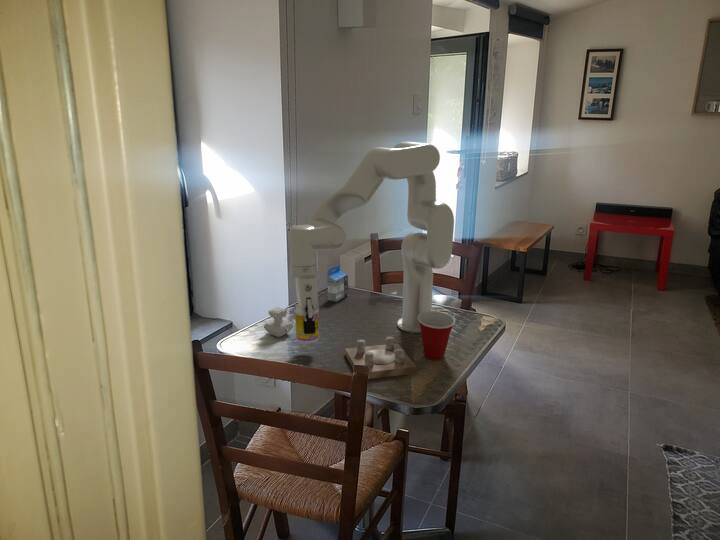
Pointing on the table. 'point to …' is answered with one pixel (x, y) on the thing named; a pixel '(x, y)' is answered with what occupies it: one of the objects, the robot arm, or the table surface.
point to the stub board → (381, 359)
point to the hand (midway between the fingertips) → (307, 327)
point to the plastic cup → (435, 333)
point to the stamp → (278, 323)
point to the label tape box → (337, 284)
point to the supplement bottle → (300, 328)
